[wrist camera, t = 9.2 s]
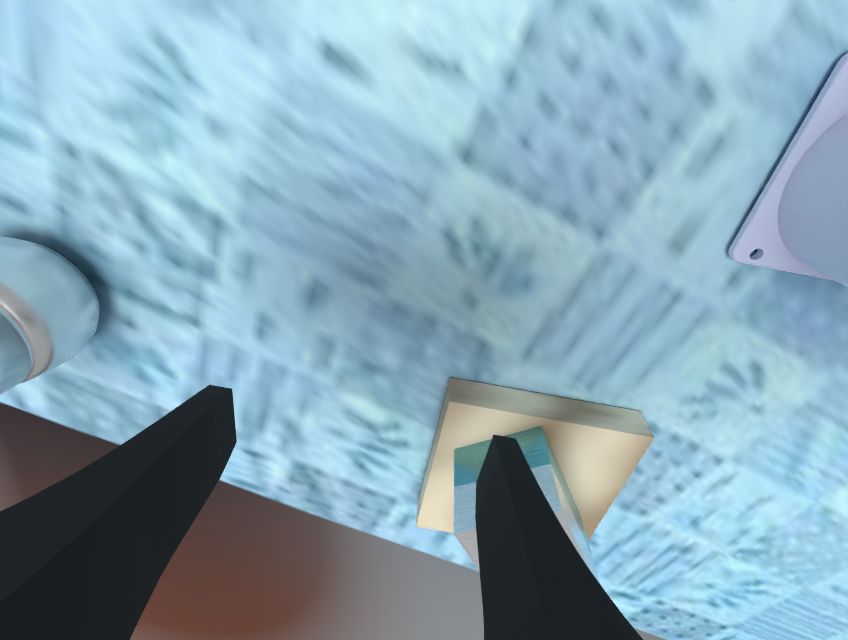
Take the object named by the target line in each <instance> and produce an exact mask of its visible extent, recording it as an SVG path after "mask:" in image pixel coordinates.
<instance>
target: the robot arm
mask: <svg viewBox="0 0 848 640" xmlns="http://www.w3.org/2000/svg"><path fill="white" fill-rule="evenodd" d="M755 249H758V250H757V253H756V254H755V255H753V256H750V254H751V252H752V251H753V250H755ZM728 253H729V256H730V258H731V259H733V260H734V261H736V262H739V263H744V264H750V265H755V266H760V267H765V268H771V269H776V270H781V271H786V272H792V273H797V274H802V275H807V276H813V277H818V278H823V279H829V280H834V281H837V282H839V283H840V284H842V285H844V286H846V287H848V53H847V54H845V55H844V56H843V57H842V58H841V59H840V60H839V62H838V63H837V64H836V66H835V68H834V70H833V71H832V73H831V75H830V76H829V78H828V80H827V82H826V83H825V85H824V87H823V88H822V90H821V92H820V94H819V95H818V97H817V99H816V100H815V102H814V104H813V106H812V107H811V109H810V111H809V112H808V114H807V116H806V118H805V119H804V121H803V123H802V124H801V126H800V128H799V130H798V131H797V133H796V135H795V136H794V138H793V140H792V142H791V143H790V145H789V147H788V148H787V150H786V152H785V154H784V155H783V157H782V159H781V160H780V162H779V164H778V166H777V167H776V169H775V171H774V172H773V174H772V176H771V178H770V179H769V181H768V183H767V184H766V186H765V188H764V190H763V191H762V193H761V195H760V196H759V198H758V200H757V202H756V203H755V205H754V207H753V208H752V210H751V212H750V214H749V215H748V217H747V219H746V220H745V222H744V224H743V226H742V227H741V229H740V231H739V232H738V234H737V236H736V238H735V239H734V241H733V243H732V244H731V246H730V248H729V251H728ZM236 442H237V440H236V429H235V417H234V406H233V395H232V389H230V388H224V387H219V386H213V385H209V386H207V387H206V388H204V389H203V390H201V391H200V392H198V393H197V394H195V395H194V396H192V397H191V398H190V399H188V400H187V401H185V402H184V403H182V404H181V405H180V406H178V407H177V408H175V409H174V410H172V411H171V412H170V413H168V414H167V415H165V416H164V417H162V418H161V419H159V420H158V421H156V422H155V423H153V424H152V425H150V426H149V427H147V428H146V429H145V430H143V431H142V432H140V433H139V434H137V435H136V436H134V437H133V438H131V439H130V440H128V441H126V442H125V443H123V444H122V445H120V446H118V447H117V448H115V449H114V450H112V451H110V452H109V453H107V454H106V455H104V456H102V457H101V458H99V459H97V460H96V461H94V462H93V463H91V464H90V465H88V466H86V467H84V468H83V469H81V470H79V471H77V472H76V473H74V474H72V475H70V476H69V477H67V478H65V479H63V480H61V481H60V482H58V483H56V484H54V485H52V486H50V487H48V488H46V489H45V490H43V491H41V492H39V493H37V494H35V495H33V496H31V497H29V498H27V499H25V500H23V501H21V502H19V503H17V504H15V505H13V506H11V507H9V508H7V509H5V510H3V511H0V640H130V637H131V635H132V633H133V631H134V629H135V627H136V625H137V623H138V621H139V619H140V617H141V614H142V612H143V611H144V609H145V607H146V605H147V603H148V601H149V599H150V597H151V595H152V593H153V591H154V589H155V587H156V585H157V583H158V581H159V578H160V577H161V575H162V573H163V571H164V569H165V568H166V566H167V564H168V562H169V561H170V559H171V557H172V555H173V554H174V552H175V551H176V549H177V547H178V546H179V544H180V543H181V541H182V539H183V538H184V536H185V534H186V533H187V531H188V529H189V528H190V526H191V525H192V523H193V521H194V520H195V518H196V517H197V515H198V513H199V512H200V510H201V508H202V507H203V505H204V504H205V502H206V500H207V499H208V497H209V495H210V494H211V492H212V490H213V489H214V487H215V485H216V484H217V482H218V480H219V479H220V477H221V475H222V473H223V471H224V469H225V466H226V464H227V462H228V460H229V458H230V456H231V453H232V451H233V449H234V447H235V444H236ZM475 522H476V535H477V546H478V557H479V569H480V579H481V591H482V601H483V616H484V640H643V639H642V638H641V637H640V636H639V634H638V633H637V632H636V631H635V629H634V628H633V627H632V626H631V624H630V623H629V622H628V621H627V619H626V618H625V617H624V616H623V615H622V613H621V612H620V611H619V609H618V608H617V607H616V605H615V604H614V603H613V601H612V600H611V599H610V597H609V596H608V595H607V593H606V592H605V591H604V589H603V588H602V586H601V585H600V584H599V582H598V581H597V579H596V578H595V576H594V575H593V574H592V572H591V571H590V569H589V568H588V566H587V565H586V563H585V562H584V560H583V559H582V557H581V556H580V554H579V553H578V551H577V550H576V548H575V546H574V545H573V543H572V542H571V540H570V538H569V537H568V535H567V534H566V532H565V530H564V529H563V527H562V525H561V524H560V522H559V520H558V518H557V517H556V515H555V513H554V511H553V510H552V508H551V506H550V504H549V502H548V501H547V499H546V497H545V495H544V493H543V492H542V490H541V488H540V486H539V484H538V482H537V480H536V478H535V476H534V474H533V472H532V470H531V468H530V466H529V464H528V462H527V460H526V458H525V456H524V454H523V452H522V450H521V447H520V445H519V443H518V441H517V440H516V439H515V438H511V437H505V436H500V435H493V437H492V440H491V443H490V446H489V448H488V451H487V454H486V457H485V459H484V462H483V465H482V468H481V471H480V473H479V476H478V479H477V482H476V505H475Z"/></svg>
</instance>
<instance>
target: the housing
mask: <svg viewBox="0 0 848 640" xmlns="http://www.w3.org/2000/svg"><path fill="white" fill-rule="evenodd" d="M505 437H511V438H515V439H516V440H517V441H518V443H519V445H520V447H521V450H522V452H523V454H524V456H525V458H526V460H527V462H528V464H529V466H530V468H531V470H532V472H533V474H534V476H535V478H536V480H537V482H538V484H539V486H540V488H541V490H542V492H543V493H544V495H545V497H546V499H547V501H548V502H549V504H550V506H551V508H552V510H553V511H554V513H555V515H556V517H557V518H558V520H559V522H560V524H561V525H562V527H563V529H564V530H565V532H566V534H567V535H568V537H569V538H570V540H571V542H572V543H573V545H574V546H575V548H576V550H577V551H578V553H579V554H580V556H581V557H582V559H583V560H584V562H585V563H586V565H587V566H588V568H589V569H590V571H591V572H592V574H593V575H594V576H595V578H596V579H597V581H598V582H599V580H598V576H597V572H596V569H595V565H594V562H593V558H592V554H591V551H590V547H589V544H588V540H587V537H586V533H585V529H584V526H583V522H582V519H581V515H580V513H579V510H578V508H577V506H576V504H575V501H574V499H573V497H572V494H571V492H570V490H569V487H568V485H567V483H566V481H565V478H564V476H563V474H562V471H561V469H560V467H559V464H558V462H557V460H556V458H555V455H554V453H553V451H552V448H551V446H550V444H549V441H548V439H547V437H546V435H545V432H544V430H543V428H542V426H538V427H534V428H531V429H527V430H523V431H520V432H516V433H512V434H509V435H505ZM491 440H492V439H490V440H486V441H483V442H479V443H475V444H471V445H468V446H464V447H460V448H457V449H454V535H455V536H456V538H457V539H458V541H459V542H460V544H461V545H462V547H463V548H464V549H465V551H466V552H467V554H468V555H469V557H470V558H471V560H472V561H473V563H474V564H475V566H476V567H477V568H478V570H479V571H480V569H479V557H478V546H477V535H476V522H475V505H476V482H477V479H478V476H479V473H480V471H481V468H482V465H483V462H484V459H485V457H486V454H487V451H488V448H489V446H490V443H491ZM599 584H600V583H599Z"/></svg>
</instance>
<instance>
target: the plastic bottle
mask: <svg viewBox="0 0 848 640" xmlns="http://www.w3.org/2000/svg"><path fill="white" fill-rule="evenodd" d="M99 310H100V307H99V301H98V298H97V295H96V292H95V290H94V289H93V287H92V285H91V284H90V282H89V281H88V279H87V278H86V277H85V276H84V274H83V273H82V272H81V271H80V270H79V269H78V268H77V267H76V266H75V265H74V264H72V263H71V262H70V261H69V260H67V259H66V258H65V257H63V256H62V255H60V254H58V253H57V252H55V251H54V250H52V249H49V248H47V247H45V246H43V245H40V244H37V243H33V242H30V241H25V240H21V239H16V238H10V237H2V236H0V394H2V393H4V392H6V391H7V390H9V389H11V388H12V387H14V386H16V385H17V384H19V383H23V382H26V381H28V380H30V379H32V378H35V377H37V376H39V375H41V374H43V373H45V372H47V371H49V370H51V369H52V368H54V367H56V366H58V365H60V364H62V363H63V362H65V361H67V360H69V359H71V358H73V357H74V356H75V354H76V353H77V352H78V351H79V350H80V349H81V348H82V347H83V346H84V345H85V344H86V343H87V342H88V341H89V340H90V338H91V337H92V336H93V335H94V334H95V332H96V329H97V327H98V319H99Z"/></svg>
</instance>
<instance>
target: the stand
mask: <svg viewBox="0 0 848 640" xmlns="http://www.w3.org/2000/svg"><path fill="white" fill-rule="evenodd" d="M538 426H542V428H543V430H544V432H545V435H546V437H547V439H548V441H549V444H550V446H551V448H552V451H553V453H554V455H555V458H556V460H557V462H558V464H559V467H560V469H561V471H562V474H563V476H564V478H565V481H566V483H567V485H568V487H569V490H570V492H571V494H572V497H573V499H574V501H575V504H576V506H577V508H578V510H579V513H580V515H581V519H582V522H583V526H584V529H585V533H586V537H587V540H589V538H590V537H591V535H592V534H593V532H594V531H595V529H596V527H597V526H598V524H599V523H600V521H601V520H602V518H603V517H604V515H605V514H606V512H607V510H608V509H609V507H610V506H611V504H612V503H613V501H614V500H615V498H616V497H617V495H618V493H619V492H620V490H621V489H622V487H623V486H624V484H625V483H626V481H627V479H628V478H629V476H630V475H631V473H632V472H633V470H634V469H635V467H636V466H637V464H638V462H639V461H640V459H641V458H642V456H643V455H644V453H645V452H646V450H647V449H648V447H649V445H650V444H651V442H652V441H653V439H654V436H653V434H652V432H651V430H650V429H649V427H648V425H647V423H646V421H645V419H644V417H643V416H642V414H641V412H640V411H636V410H630V409H625V408H619V407H613V406H608V405H602V404H596V403H591V402H585V401H580V400H574V399H568V398H563V397H557V396H552V395H546V394H540V393H535V392H529V391H523V390H518V389H512V388H507V387H501V386H495V385H490V384H484V383H478V382H473V381H467V380H462V379H456V378H450V379H449V383H448V387H447V391H446V394H445V398H444V402H443V406H442V410H441V414H440V417H439V421H438V425H437V429H436V433H435V437H434V441H433V444H432V448H431V452H430V456H429V460H428V464H427V467H426V471H425V475H424V479H423V483H422V487H421V491H420V494H419V498H418V507H417V518H416V527H421V528H427V529H433V530H439V531H445V532H451V533H454V449H457V448H460V447H464V446H468V445H471V444H475V443H479V442H483V441H486V440H490V439H492V437H493V435H500V436H505V435H509V434H512V433H516V432H520V431H523V430H527V429H531V428H534V427H538Z"/></svg>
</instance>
